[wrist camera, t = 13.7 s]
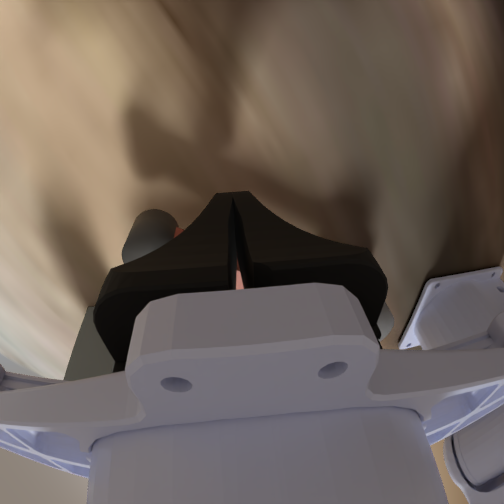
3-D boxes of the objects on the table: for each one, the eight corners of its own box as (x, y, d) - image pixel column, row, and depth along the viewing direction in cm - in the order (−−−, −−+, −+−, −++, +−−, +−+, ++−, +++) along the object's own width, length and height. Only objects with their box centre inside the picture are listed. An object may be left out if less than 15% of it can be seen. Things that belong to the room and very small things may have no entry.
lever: (146, 188, 11) (133, 214, 10) (389, 290, 16) (404, 318, 14) (125, 249, 13) (113, 280, 11) (355, 326, 18) (366, 354, 16)
